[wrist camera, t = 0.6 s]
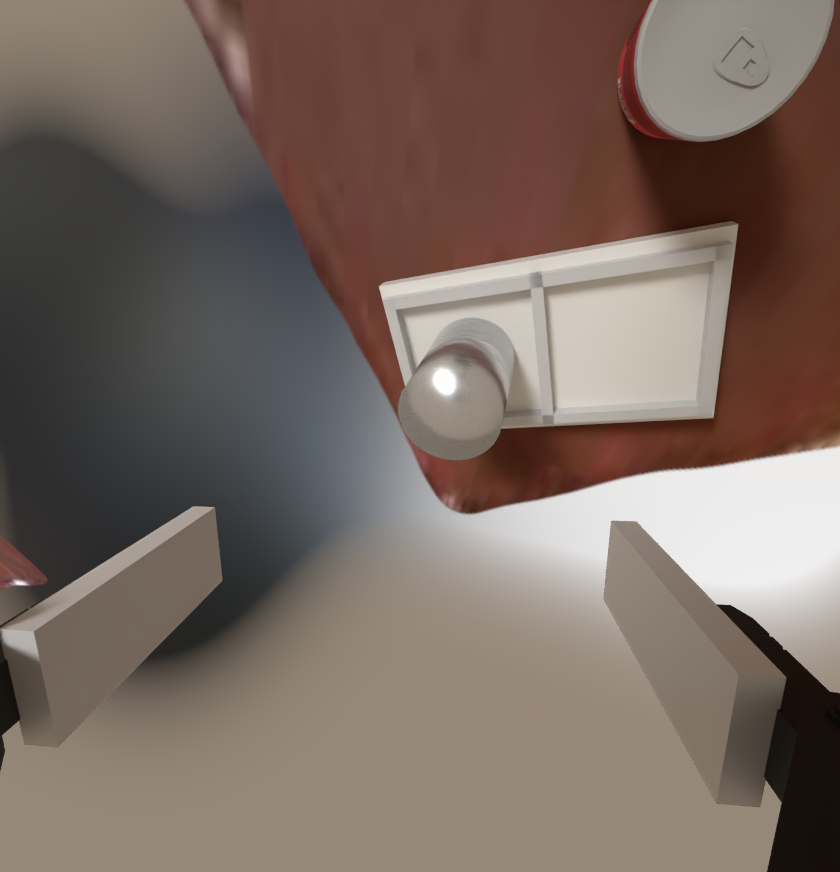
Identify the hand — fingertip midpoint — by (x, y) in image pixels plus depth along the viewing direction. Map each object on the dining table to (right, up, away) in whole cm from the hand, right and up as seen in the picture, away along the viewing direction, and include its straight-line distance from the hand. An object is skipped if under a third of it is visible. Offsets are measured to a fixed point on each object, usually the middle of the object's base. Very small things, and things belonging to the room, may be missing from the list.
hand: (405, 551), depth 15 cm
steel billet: (+6, +11, +28) cm, 30 cm away
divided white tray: (+12, +12, +27) cm, 32 cm away
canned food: (+18, +28, +15) cm, 36 cm away
